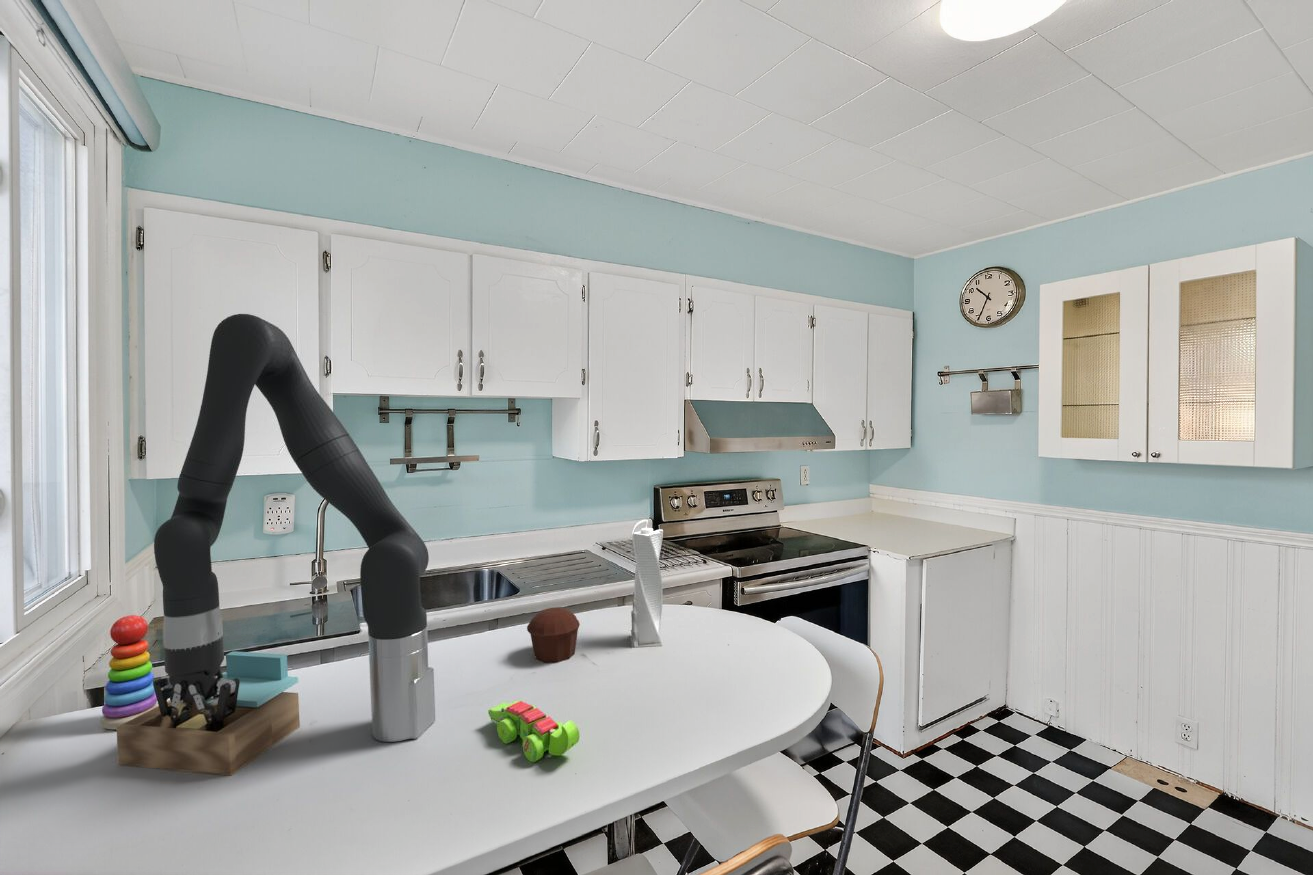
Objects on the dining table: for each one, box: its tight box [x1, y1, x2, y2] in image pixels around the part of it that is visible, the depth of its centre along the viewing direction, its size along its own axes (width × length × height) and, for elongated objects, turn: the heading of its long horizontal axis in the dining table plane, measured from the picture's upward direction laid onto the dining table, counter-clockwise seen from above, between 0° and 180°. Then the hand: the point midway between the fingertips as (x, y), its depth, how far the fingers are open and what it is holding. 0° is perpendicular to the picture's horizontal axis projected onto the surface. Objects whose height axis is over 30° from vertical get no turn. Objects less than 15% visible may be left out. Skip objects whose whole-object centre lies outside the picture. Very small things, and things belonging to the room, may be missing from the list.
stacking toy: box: [100, 614, 159, 730], centre depth 108 cm, size 8×8×19 cm
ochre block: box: [176, 714, 207, 731], centre depth 97 cm, size 4×4×5 cm
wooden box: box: [115, 691, 301, 777], centre depth 100 cm, size 20×14×6 cm
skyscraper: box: [629, 519, 664, 649], centre depth 141 cm, size 8×8×28 cm
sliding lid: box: [193, 650, 299, 707], centre depth 105 cm, size 15×9×5 cm, turn 81°
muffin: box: [526, 606, 581, 664], centre depth 134 cm, size 12×11×10 cm
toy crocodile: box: [487, 699, 580, 763], centre depth 99 cm, size 20×7×6 cm, turn 47°
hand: (199, 741), depth 97 cm, fingers open, 5 cm apart
